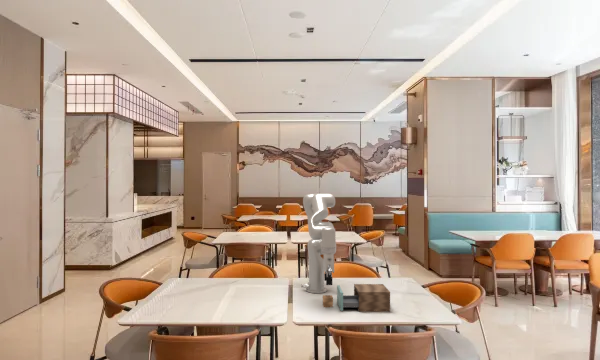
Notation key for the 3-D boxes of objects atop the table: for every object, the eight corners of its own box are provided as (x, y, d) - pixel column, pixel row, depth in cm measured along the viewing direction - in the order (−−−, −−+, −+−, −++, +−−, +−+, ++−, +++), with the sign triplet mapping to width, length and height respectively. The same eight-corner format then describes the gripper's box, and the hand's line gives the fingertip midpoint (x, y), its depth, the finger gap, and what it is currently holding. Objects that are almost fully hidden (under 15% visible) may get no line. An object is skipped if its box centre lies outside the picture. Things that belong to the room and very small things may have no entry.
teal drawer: (340, 310, 207) (340, 292, 207) (337, 301, 223) (337, 285, 223) (371, 310, 208) (371, 292, 208) (365, 301, 223) (365, 285, 223)
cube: (323, 307, 214) (323, 297, 214) (322, 304, 219) (322, 295, 219) (333, 307, 215) (333, 297, 215) (332, 304, 220) (332, 295, 220)
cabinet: (359, 311, 207) (359, 292, 207) (353, 302, 223) (354, 284, 223) (390, 311, 208) (390, 292, 208) (382, 302, 224) (382, 284, 224)
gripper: (337, 253, 208) (337, 286, 208) (333, 248, 226) (333, 279, 225) (322, 253, 208) (322, 286, 208) (320, 248, 225) (320, 279, 225)
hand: (328, 282), depth 216 cm, fingers open, 9 cm apart
